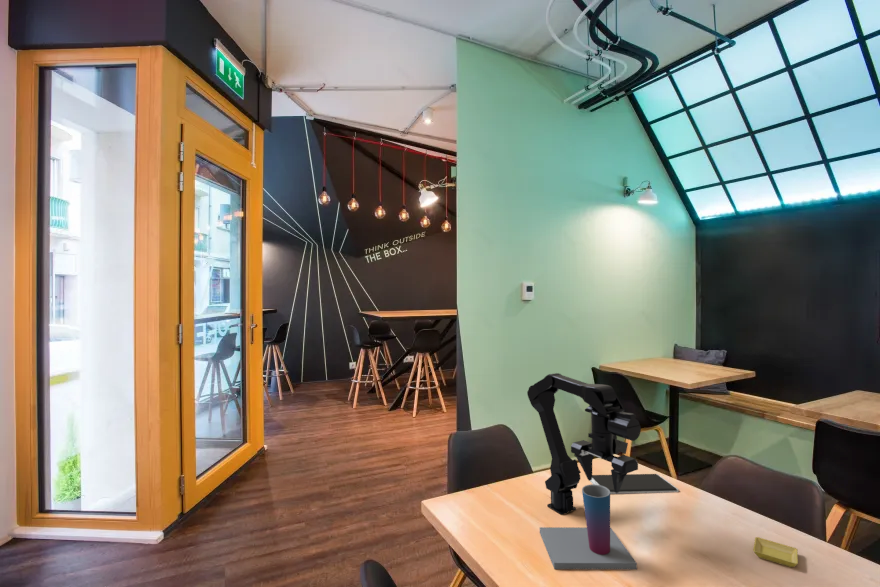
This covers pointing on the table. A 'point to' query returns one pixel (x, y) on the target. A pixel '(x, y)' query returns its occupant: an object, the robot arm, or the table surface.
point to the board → (583, 550)
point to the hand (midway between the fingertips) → (603, 486)
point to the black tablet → (636, 484)
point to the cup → (597, 517)
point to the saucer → (776, 552)
